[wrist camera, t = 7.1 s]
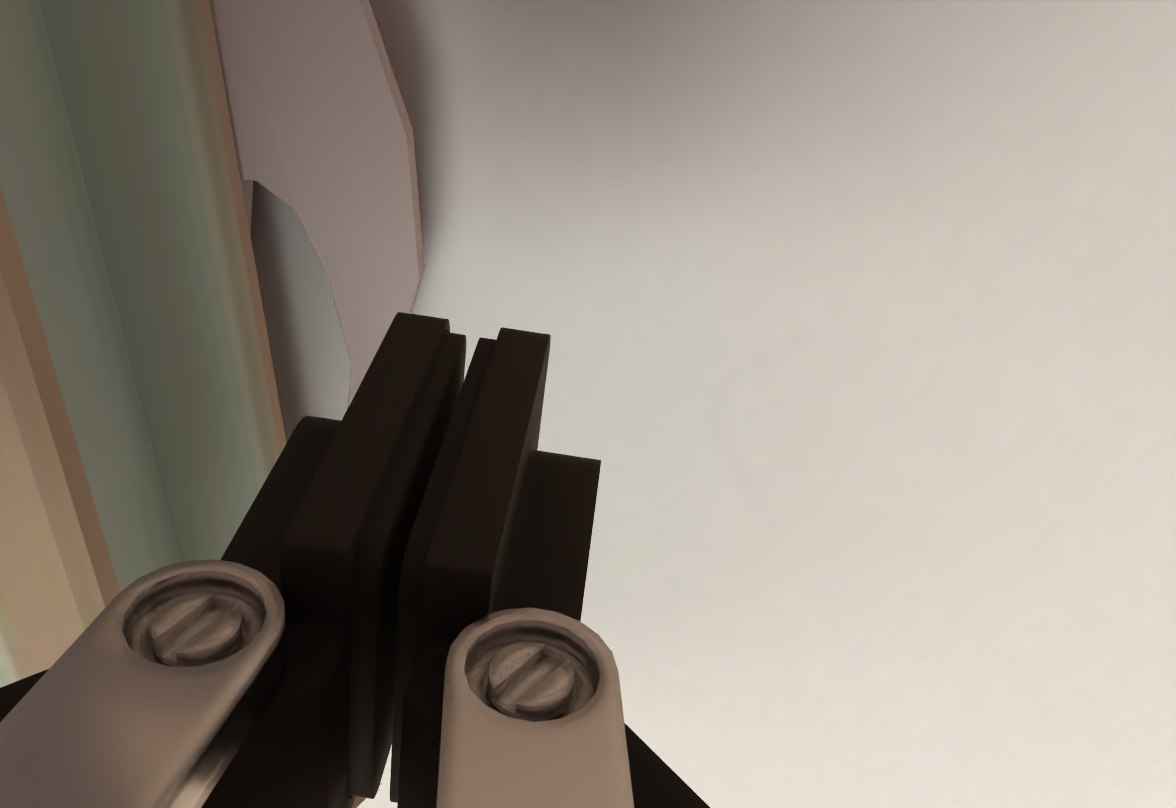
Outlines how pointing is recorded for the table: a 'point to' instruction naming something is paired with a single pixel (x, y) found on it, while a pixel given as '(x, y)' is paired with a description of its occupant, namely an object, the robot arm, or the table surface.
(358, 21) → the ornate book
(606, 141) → the table surface
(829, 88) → the table surface
